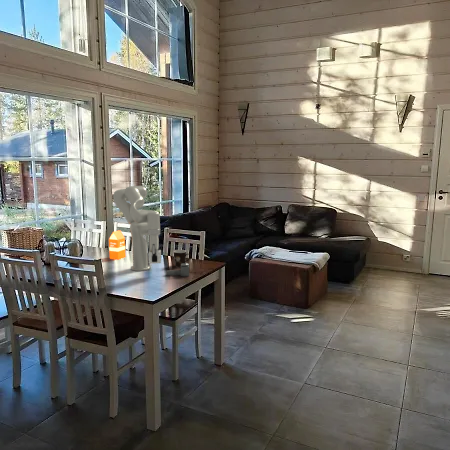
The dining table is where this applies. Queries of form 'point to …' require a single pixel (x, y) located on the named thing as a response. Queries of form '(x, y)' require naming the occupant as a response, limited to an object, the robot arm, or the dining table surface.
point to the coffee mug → (180, 257)
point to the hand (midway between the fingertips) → (155, 260)
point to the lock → (157, 257)
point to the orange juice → (117, 245)
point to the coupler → (182, 272)
